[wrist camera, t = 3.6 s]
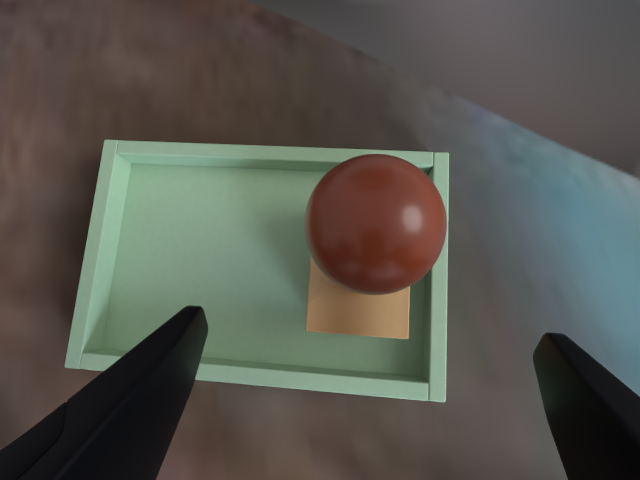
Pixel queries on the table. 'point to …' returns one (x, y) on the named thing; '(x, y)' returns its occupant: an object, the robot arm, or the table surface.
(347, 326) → the wooden rubber stamp
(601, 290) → the table surface
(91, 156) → the table surface
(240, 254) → the tray
